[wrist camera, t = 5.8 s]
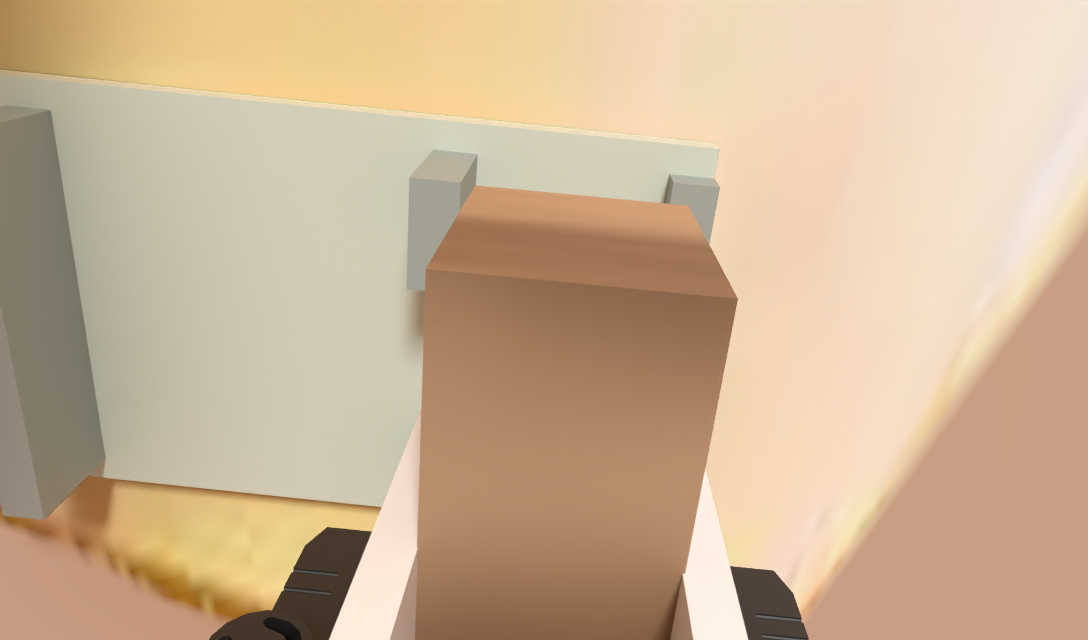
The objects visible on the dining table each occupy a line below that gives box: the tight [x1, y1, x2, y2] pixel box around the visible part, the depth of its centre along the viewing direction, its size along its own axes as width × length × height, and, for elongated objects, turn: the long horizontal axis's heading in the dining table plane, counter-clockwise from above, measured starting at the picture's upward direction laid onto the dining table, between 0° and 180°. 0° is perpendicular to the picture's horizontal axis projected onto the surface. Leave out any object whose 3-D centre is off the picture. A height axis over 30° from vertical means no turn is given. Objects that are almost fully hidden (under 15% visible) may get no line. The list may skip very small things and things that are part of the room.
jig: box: [0, 69, 720, 520], centre depth 28 cm, size 16×25×5 cm, turn 85°
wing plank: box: [415, 185, 738, 640], centre depth 15 cm, size 12×4×5 cm, turn 175°
